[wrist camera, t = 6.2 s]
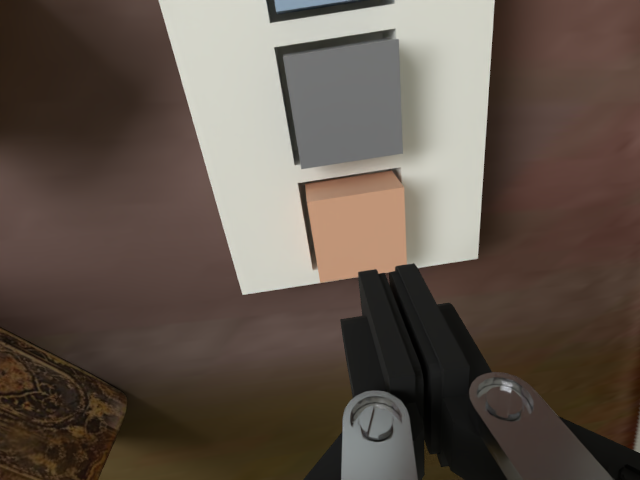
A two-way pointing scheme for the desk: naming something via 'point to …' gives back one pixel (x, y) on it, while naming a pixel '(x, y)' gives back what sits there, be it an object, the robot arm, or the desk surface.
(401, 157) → the button panel
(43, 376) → the book
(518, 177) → the desk surface
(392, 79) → the charcoal button
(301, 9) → the slate blue button
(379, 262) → the terracotta button
